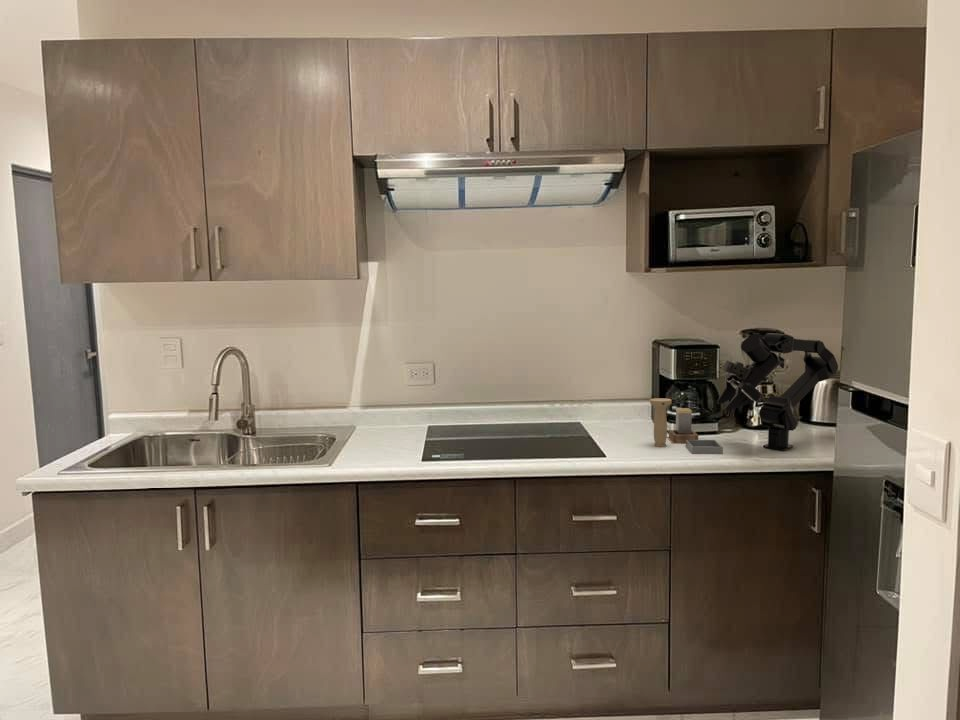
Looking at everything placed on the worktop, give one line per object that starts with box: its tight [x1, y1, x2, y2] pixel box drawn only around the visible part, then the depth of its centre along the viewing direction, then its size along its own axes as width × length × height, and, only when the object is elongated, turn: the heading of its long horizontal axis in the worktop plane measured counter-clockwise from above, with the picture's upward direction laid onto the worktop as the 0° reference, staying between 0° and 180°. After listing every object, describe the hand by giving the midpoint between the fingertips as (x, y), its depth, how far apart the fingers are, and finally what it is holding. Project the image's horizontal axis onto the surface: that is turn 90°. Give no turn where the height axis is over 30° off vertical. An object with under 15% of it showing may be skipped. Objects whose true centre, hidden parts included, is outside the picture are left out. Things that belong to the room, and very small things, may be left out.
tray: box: [685, 439, 724, 455], centre depth 202 cm, size 9×9×2 cm
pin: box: [675, 407, 693, 435], centre depth 213 cm, size 4×4×10 cm
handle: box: [649, 397, 673, 448], centre depth 207 cm, size 5×6×15 cm
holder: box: [666, 429, 699, 445], centre depth 214 cm, size 9×9×3 cm
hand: (721, 406), depth 201 cm, fingers open, 9 cm apart
